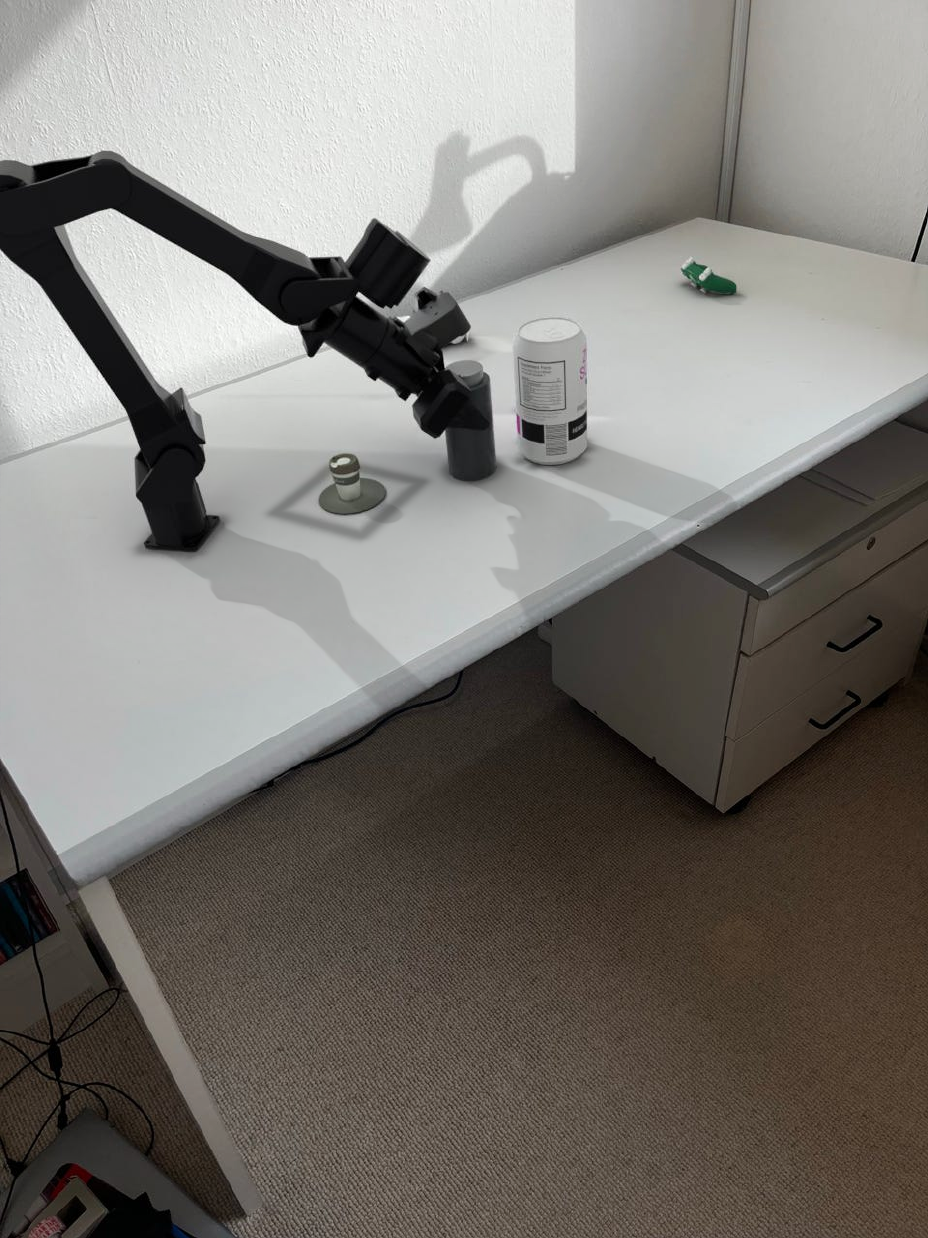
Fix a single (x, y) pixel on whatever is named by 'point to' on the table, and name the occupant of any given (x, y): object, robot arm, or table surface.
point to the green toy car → (707, 278)
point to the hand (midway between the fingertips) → (479, 415)
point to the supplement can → (551, 390)
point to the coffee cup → (350, 488)
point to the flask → (472, 447)
